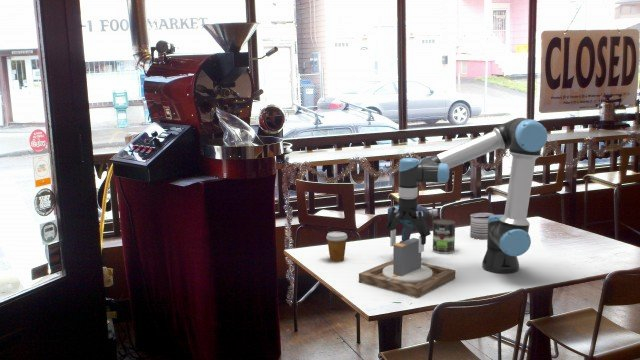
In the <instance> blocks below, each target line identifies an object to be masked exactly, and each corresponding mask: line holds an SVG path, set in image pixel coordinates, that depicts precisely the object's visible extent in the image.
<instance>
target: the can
mask: <svg viewBox="0 0 640 360" xmlns="http://www.w3.org/2000/svg"><path fill="white" fill-rule="evenodd" d="M491 215H494V213H490V212H476V213H471V214H469V216H470V230H469V231H470V232H469V234H470V235H469V237H470V238H471V239H473V238H474V239H473V240H478V239H479V241H480V240H481V241H487V234H488V224H487V223H488V218H489V216H491Z"/></svg>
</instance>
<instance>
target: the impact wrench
mask: <svg viewBox="0 0 640 360" xmlns="http://www.w3.org/2000/svg"><path fill="white" fill-rule="evenodd" d="M396 206H397V207H398V208H399V206H398V205H394V206H392V205H391V206H390V207H388V209H387V218H388V219H389V216H390V214H391V212H392V207H396ZM417 211H424V217H425V220H426V219H428V217H435V218H437V216H439V215H440V210H439V209H438V208H432V209H428V208H427V207H426V206H425V207H424V206H422V205H420V204H417ZM399 215H400V214H399V212H397V214H396V216H395V218H394V220H393V222H394V221H395V220H396V219H397V217H398V216H399ZM416 216H417V215H416ZM417 218H418V216H417ZM388 219H387V220H388ZM418 221H419V218H418ZM393 222H392V223H393ZM419 222H420V221H419ZM398 225H402V231H401V240H400V242H398V243H401V242H403V241H406V240H409V239H411V236H412V232H413V230H415V229H416V227H415V226H414V224H413V223H412V222H411V221H407V220H403V219H402V220H401V221H400V223H399V224H398Z"/></svg>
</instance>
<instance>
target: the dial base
mask: <svg viewBox="0 0 640 360" xmlns="http://www.w3.org/2000/svg"><path fill="white" fill-rule="evenodd" d="M389 265H393V259H392V260H389V261H386V262H384V263H381V264H378V265H376V266H374V267H371V268H369V269H366V270H365V271H362V272H360V273H358V282H359V283H363V284H366V285H369V286H374V287H378V288H381V289H384V290H388V291H391V290H392V292H395V293H400V294H404V295H408V296H410V297H414V298H420V297H422V296H424V295H426V294H427V293H429V292H431V291H433V290H436V289H437V288H440V287H441V286H443V285H446V284H448V283H449V282H451V281H453V280H455V279H456V273H457V272H456V269H452V268H449V267H448V268H447V267H443V266H438V265H434V264H429V263H425V262H421V265H423V266H426V267H428V268H430V269H431V270H432V277H431V278H429V279H427V280H424V281H422V282H420V283H418V284H410V283H406V282H402V281H398V280H394V279H391V278H386V277H383V269H384V268H385V267H386V266H389Z"/></svg>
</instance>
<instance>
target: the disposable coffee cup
mask: <svg viewBox="0 0 640 360" xmlns="http://www.w3.org/2000/svg"><path fill="white" fill-rule="evenodd" d="M347 239H348V234H347V233H346V232H342V231H330V232H328V233H327V235H326V240H327V247H328V254H329V260H330V262H333V263H335V262H336V263H340V262H343V261H345V256H346V255H345V253H346V246H347Z"/></svg>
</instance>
